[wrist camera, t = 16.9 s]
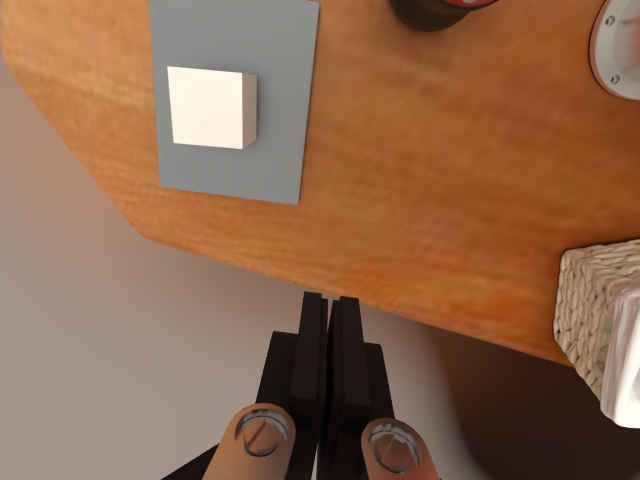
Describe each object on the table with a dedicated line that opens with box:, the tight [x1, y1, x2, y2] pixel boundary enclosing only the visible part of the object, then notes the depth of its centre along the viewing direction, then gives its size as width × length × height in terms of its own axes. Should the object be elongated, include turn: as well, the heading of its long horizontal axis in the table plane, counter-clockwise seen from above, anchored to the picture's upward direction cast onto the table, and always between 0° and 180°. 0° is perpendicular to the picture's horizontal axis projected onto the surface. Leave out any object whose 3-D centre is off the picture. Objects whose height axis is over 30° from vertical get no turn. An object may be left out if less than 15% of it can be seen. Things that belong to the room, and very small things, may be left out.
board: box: [149, 0, 320, 205], centre depth 38 cm, size 16×20×2 cm
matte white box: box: [167, 66, 257, 149], centre depth 32 cm, size 6×6×6 cm
